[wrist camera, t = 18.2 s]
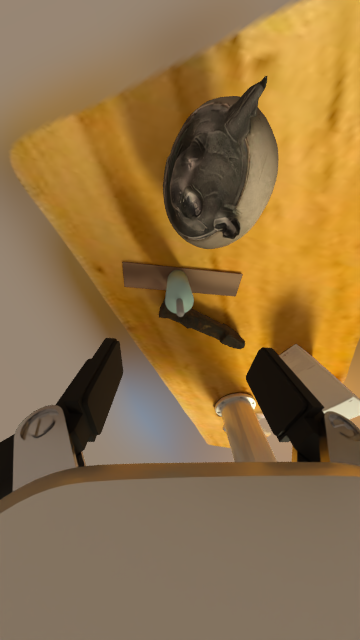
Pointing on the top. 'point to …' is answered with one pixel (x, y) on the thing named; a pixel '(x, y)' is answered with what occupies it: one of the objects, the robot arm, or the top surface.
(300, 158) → the top surface
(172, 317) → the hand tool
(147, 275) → the joist strip
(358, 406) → the small box
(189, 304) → the green ice pop
